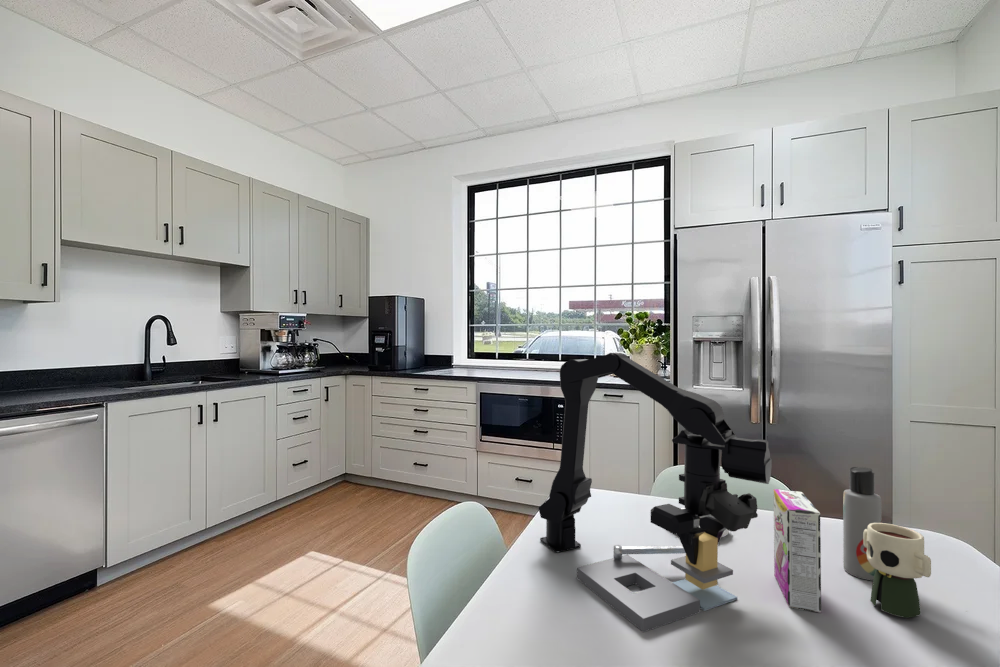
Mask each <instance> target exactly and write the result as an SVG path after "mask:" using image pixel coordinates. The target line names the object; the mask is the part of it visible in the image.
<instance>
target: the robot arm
mask: <svg viewBox="0 0 1000 667" xmlns="http://www.w3.org/2000/svg"><path fill="white" fill-rule="evenodd" d="M611 375H614V376H616V377H617V378H618V379H620V380H622V381H624V382H625V383H627V384H628V385H630V386H631V387H632V388H635V389H636V390H637V391H639V392H641V393H642V394H644V395H646V396H647V397H648V398H650V399H651V400H653V401H655V402H656V403H658V404H659V405H661V406H662V407H663V408H664V409H665V410H667V412H668V413H669V414H670V416H672V418H673V419H674V420H675V421H676V422H677V423H679V425H681V426H682V427H683V428H684V429H682V430H681V431H680V432H679V433H678V434H677V435H676V436H674V437H673V438H672V440H671V441H672V443H673V444H678V445H679V444H680V445H684V462H683V464H684V469H683V471H684V472H683V473H681V474H680V473H679V474H678V481H680V482H683V496H681V497H678V504H679V505H682V506H684V508H686V509H680V507H678V506H675V505H673V504H671V503H666V504H660V505H655V506H654V507H652V508H651V509H650V523H651V524H653V525H655V526H657V527H659V528H662V529H663V530H665V531H667V532H668V533H671V534H673V535H677V537H678V539H679V541H680V543H681V546H683V548H684V550H685V552H686V553H685V556H686V555H687V557H688V559H689V561H690V563H692V564H694V565H696V563H697V558H698V545H699V536H700V535H702V534H703V533H704V532H705V533H708V534H710V535H712V536H714V537H716V538H718V544H720V540H721V539H722V537H721V536H722V534H723V532H724V530H726V529H727V530H729V532H737V531H738V530H742V529H748V528H749V525H750V523H751V521H752V519H756V518H758V517H759V514H758V513H757V511H758V501H757V497H755V496H754V495H753V494H751V493H750V492H748V493H744V494H741V495H740V496H739V495H738V493H734V494H732V493H730V492H729V491H728V484H727V482H726V479H723V478H721V469H722V470H723V471H724V473H725V474H727V476H728V477H729V478H731V479H733V478H734V479H739V480H744V481H749V482H755V483H758V484H760V483H761V484H765V485H769V484H770V481H771V475H772V466H773V465H772V461H773V460H772V458H771V452H770V448H769V441H768V440H767V439H750V438H745V437H744V438H743V437H737V435H736V433H735V432H734V430H733V429H732V427H731V426H730V425H729V424H728V422H727V421H726V419H725V418H724V417H725V416H724V411H723V409H722V406H721V405H720V404H719V403H718V402H717V401H716V400H713V399H712V398H710V397H706V396H704V395H702V394H698V393H695V392H693V391H689V390H686V389H682V388H681V387H677V386H676V385H674V384H672V383H671V382H669V381H668V380H666V379H664V378H663V377H661V376H659V375H657V374H656V373H655V372H653V371H651V370H649V369H647V368H646V367H644V366H643V365H641V364H639V363H637V362H636V361H635V360H632V359H631V358H629V357H628V356H627V355H626V354H625V353H622V352H609V353H607V354H604V355H601V356H597V357H594V358H590V359H589V358H588V359H586V358H584V359H581V358H580V359H569V360H567V361H565V362H564V363H563V364H561V366H560V369H559V384H560V385H559V386H560V389H561V392H562V395H563V398H564V401H565V402H564V403H565V404H564V405H565V406H564V415H563V427H562V428H563V429H562V437H561V452H560V462H559V464H560V465H559V469H558V471H557V472H556V475H555V476H554V479H553V481H552V483H551V488H550V491H549V496H548V499H547V500H545V501H544V502H543V503H542V504H541V505H539V507H538V511H539V515H540V518H541V519H544V520H546V527H545V528H546V530H545V531H546V532H545V533H546V536H542V537H540V539H539V541H540V542H542V543H543V544H544V545H545V546H547V547H548V548H549V549H551V550H552V551H553V552H555V553H560V552H564V551H569V550H573V549H578V548H581V547H582V544H581V543H580V542H579V541H577V540H576V518H575V515H576V514H577V513H580V512H581V509H582V507H583V506H584V505H586V504H587V502H588V500H589V498H591V497H592V494H591V486H592V484H593V483H592V482H593V479H592V477H586V473H585V470H584V456H585V448H586V435H587V423H588V411H589V402H590V400H591V399H592V397H593V395H594V393H595V390H596V387H597V384H598V380H599V379H601V378H605V377H607V376H611ZM699 525H700V527H699Z"/></svg>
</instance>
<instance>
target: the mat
mask: <svg viewBox="0 0 1000 667" xmlns="http://www.w3.org/2000/svg"><path fill="white" fill-rule="evenodd" d="M671 582H672V581H671ZM672 583H674V584H675V585H677V586H679V587H680V588H682V589H683V590H685V591H687V592H688V593H690V594H691V595H693V596H695V597H696V598H698V599H699V600H700V610H702V611H703V612H704V611H708V610H710V609H714V608H717V607H719V606H720V607H721V606H722V605H726V604H727V603H730V602H733V601H736V600H738V596H737V595H735V594H733V593H731V592H729V591H728V590H726V589H724V588H722V587H721V586H719V585H718V584H717V585H716V586H712V587H709V588H706V589H703V590H702V589H701V588H699V587H697V586H696V585H694V584H692V583H691V582H689V581H687V580H686V579H685V578H683V579H680V580H677V581H673V582H672Z"/></svg>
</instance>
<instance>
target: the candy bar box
mask: <svg viewBox="0 0 1000 667" xmlns="http://www.w3.org/2000/svg"><path fill="white" fill-rule="evenodd" d="M821 542H822V541H821V513H820V511H819V510H818V509H817V508H816V507H815V505H814V504H813V503H812V502H811V501H810V500H809V498H808V497H807V496H806V495H805V494H804V492H802V491H799V490H798V491H797V490H790V489H788V490H787V489H781V488H780V489H779V488H777V489H775V488H774V489H773V558H774V560H773V562H774V563H773V564H774V565H773V566H774V568H773V571H774V572H773V574H774V577H775V579H776V581H777V584H778V586H779V589H780V591H781V592H782V595H783V597H784V599H785V602H786V604H787V606H788V607H789V608H791V609H796V610H803V611H808V612H809V611H810V612H813V613H820V614H821V613H822V571H821V570H822V565H821V564H822V562H821V559H822V557H821V555H822V554H821V550H822V548H821V547H822V545H821V544H822V543H821Z"/></svg>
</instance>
